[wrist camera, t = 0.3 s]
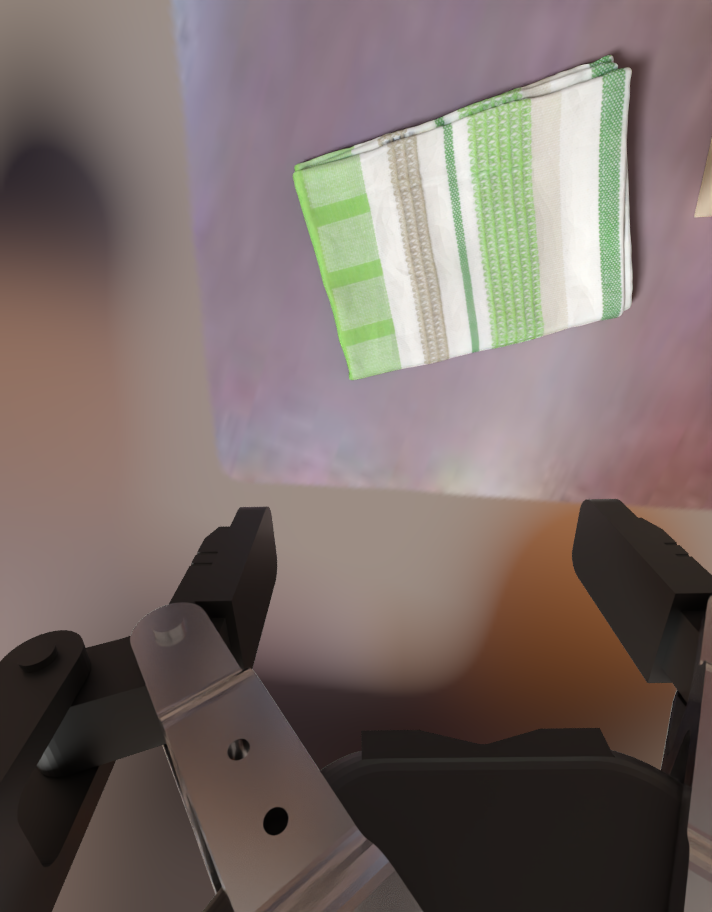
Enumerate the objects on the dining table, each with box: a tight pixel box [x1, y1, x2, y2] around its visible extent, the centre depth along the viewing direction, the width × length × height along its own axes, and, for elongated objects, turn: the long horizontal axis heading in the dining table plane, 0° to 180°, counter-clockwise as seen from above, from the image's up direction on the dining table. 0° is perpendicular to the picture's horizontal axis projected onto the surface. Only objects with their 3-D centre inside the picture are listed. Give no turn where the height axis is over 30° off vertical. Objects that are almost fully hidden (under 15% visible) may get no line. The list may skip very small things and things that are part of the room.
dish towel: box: [293, 55, 633, 380], centre depth 35 cm, size 17×23×4 cm
